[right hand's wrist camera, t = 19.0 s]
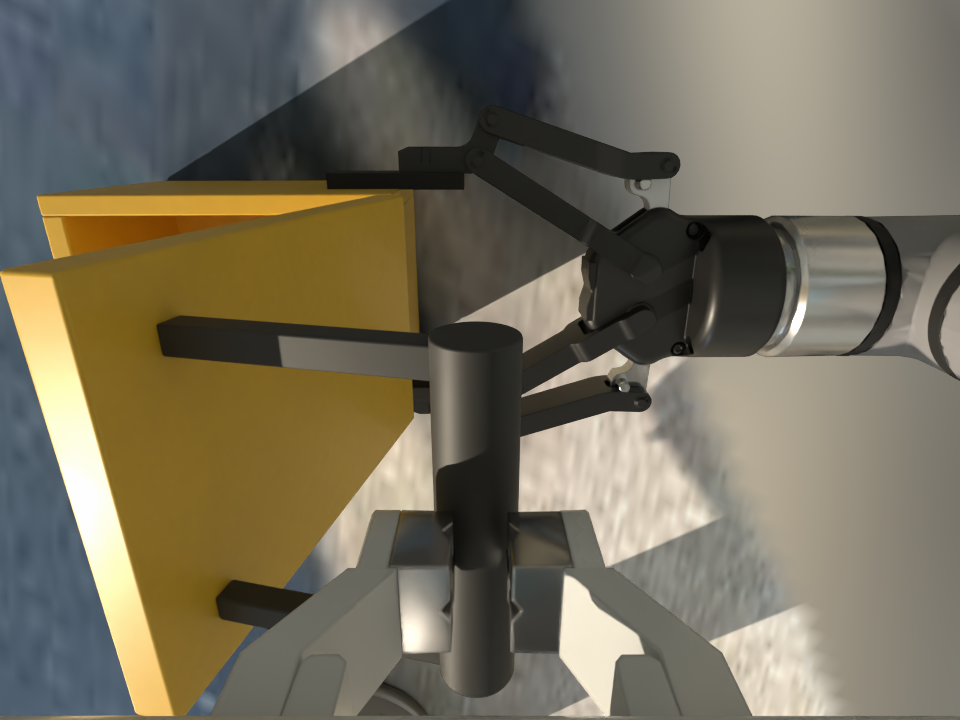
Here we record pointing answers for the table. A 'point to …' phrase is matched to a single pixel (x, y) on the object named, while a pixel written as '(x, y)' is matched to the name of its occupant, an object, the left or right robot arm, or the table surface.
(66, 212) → the chest
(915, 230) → the left robot arm
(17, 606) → the table surface
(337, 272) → the lid
